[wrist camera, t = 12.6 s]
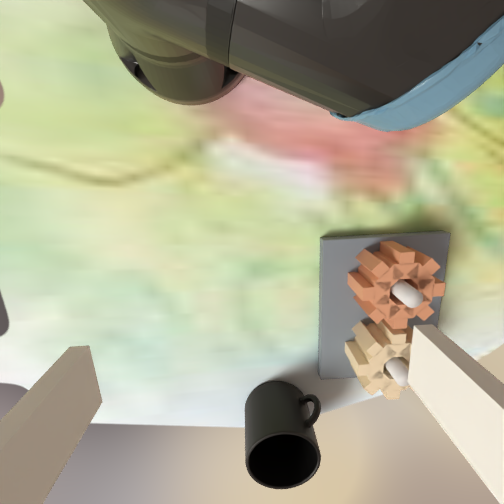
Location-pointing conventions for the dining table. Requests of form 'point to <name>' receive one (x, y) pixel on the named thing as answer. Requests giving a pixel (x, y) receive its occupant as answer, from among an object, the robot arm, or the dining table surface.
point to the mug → (281, 435)
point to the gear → (388, 273)
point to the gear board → (360, 324)
